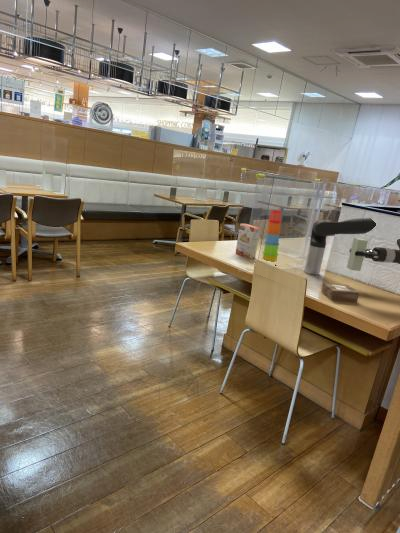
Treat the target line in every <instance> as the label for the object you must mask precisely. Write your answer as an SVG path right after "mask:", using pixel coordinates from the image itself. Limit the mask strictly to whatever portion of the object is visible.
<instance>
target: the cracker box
mask: <svg viewBox="0 0 400 533" xmlns="http://www.w3.org/2000/svg"><path fill="white" fill-rule="evenodd" d="M260 232H261V228H260V227H258V226H255V225H251V224H248V223H239V228H238V235H237V241H236V247H235V254H237V255H239V256H241V257H244V258H247V259H249V260H251V259H256V254H257V249H258V244H259V237H260Z"/></svg>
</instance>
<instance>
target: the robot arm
mask: <svg viewBox="0 0 400 533" xmlns="http://www.w3.org/2000/svg"><path fill="white" fill-rule="evenodd" d="M371 218H372V217H364V218H363V217H360V218H351V219H346V220H342V221H326V220H325V219H318V220H316V221H315V222H314V223H313V224H312V229H311V235H310V242H309V247H308V251H307V252H308V253H307V256H306V261H305V266H304V270H303V271H304V273H307V274H309V275H314V276H317V275H320V272H321V269H322V264H323V260H324V259H323V258H324V254H325V251H326V246H327V236H334V235H364V234H367V233H370V232H371V231H373V230H374V229H373V228H374V227H375V226H376V223H375V222H374V221H373V220H372V219H371ZM372 229H373V230H372ZM396 245H397V247H398V249H396V248H395V249H394V248H388V247H379V246H375V247H373V249H370V248H366V251H365V252H360V251H356V252H355V255H356V256H362V257H364V258H366V259H371V261H373V262H375V263H377V262H378V263H386V264H387V263H393V264H398V265H400V239H398V240H397V243H396ZM350 252H351V248H350V249H349V253H350Z"/></svg>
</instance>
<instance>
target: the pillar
mask: <svg viewBox="0 0 400 533" xmlns="http://www.w3.org/2000/svg"><path fill="white" fill-rule="evenodd" d="M368 243H369V240H367V239H364V238H362V237H353V239H352V244H351V247H350V249H351V252H350V251H349V256H348V261H347V265H346V268H347V269H348V270H350V271H356V272H357V271H358V272H360V271H361V269H362V266H363V262H364V258H365V257H362V256H356V255H355V252H356V251H360V252H365V251H366V249H367V246H368Z"/></svg>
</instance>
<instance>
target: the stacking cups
mask: <svg viewBox="0 0 400 533" xmlns="http://www.w3.org/2000/svg"><path fill="white" fill-rule="evenodd" d="M268 219H269V220H268V224H267V230H266V234H265V235H266V236H265V237H266V238H265V241H264V248H263V251H262V254H263V255H262V260H263V259H264V260H266V261H271V262H275V261H276V262H277V260H278V256H279V253H278V252H279V251H278V250H279V245H280V243H279V242H280V234H281V232H280V231H281V226H282V225H281V224H282V210H278V209H277V210H276V209H272V210H270V213H269V218H268Z"/></svg>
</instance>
